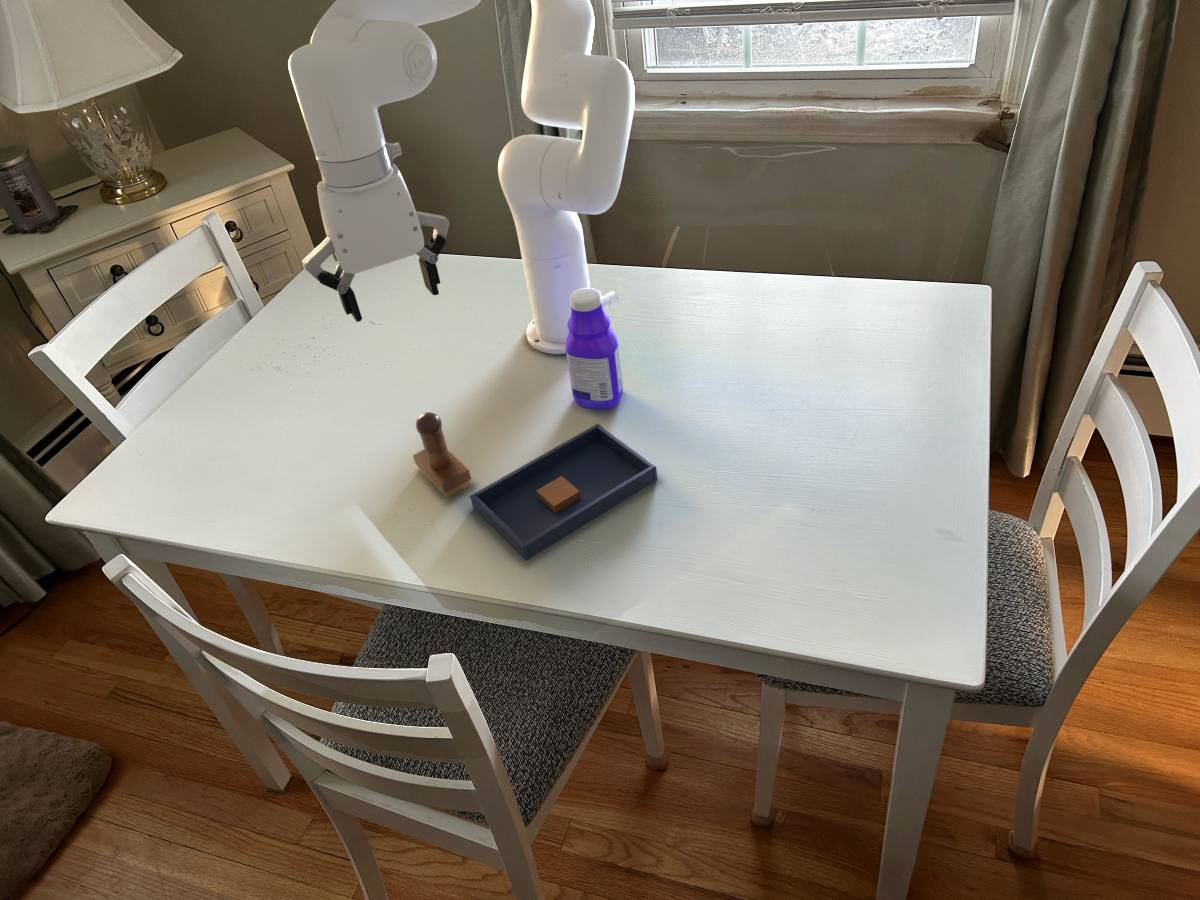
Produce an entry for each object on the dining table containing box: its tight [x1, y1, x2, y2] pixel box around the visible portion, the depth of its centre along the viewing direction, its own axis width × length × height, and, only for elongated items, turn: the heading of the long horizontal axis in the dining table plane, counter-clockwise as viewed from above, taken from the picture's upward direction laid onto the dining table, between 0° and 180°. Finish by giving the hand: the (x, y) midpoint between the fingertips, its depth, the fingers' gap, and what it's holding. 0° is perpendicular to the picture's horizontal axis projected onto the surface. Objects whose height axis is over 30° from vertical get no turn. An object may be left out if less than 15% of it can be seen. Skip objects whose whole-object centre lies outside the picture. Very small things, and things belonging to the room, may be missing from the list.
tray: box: [469, 423, 658, 562], centre depth 114 cm, size 20×12×3 cm, turn 127°
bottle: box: [565, 287, 624, 410], centre depth 124 cm, size 7×6×17 cm
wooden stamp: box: [412, 411, 472, 499], centre depth 116 cm, size 4×8×11 cm, turn 37°
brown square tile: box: [536, 476, 581, 513], centre depth 114 cm, size 4×4×1 cm
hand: (394, 303), depth 109 cm, fingers open, 9 cm apart
